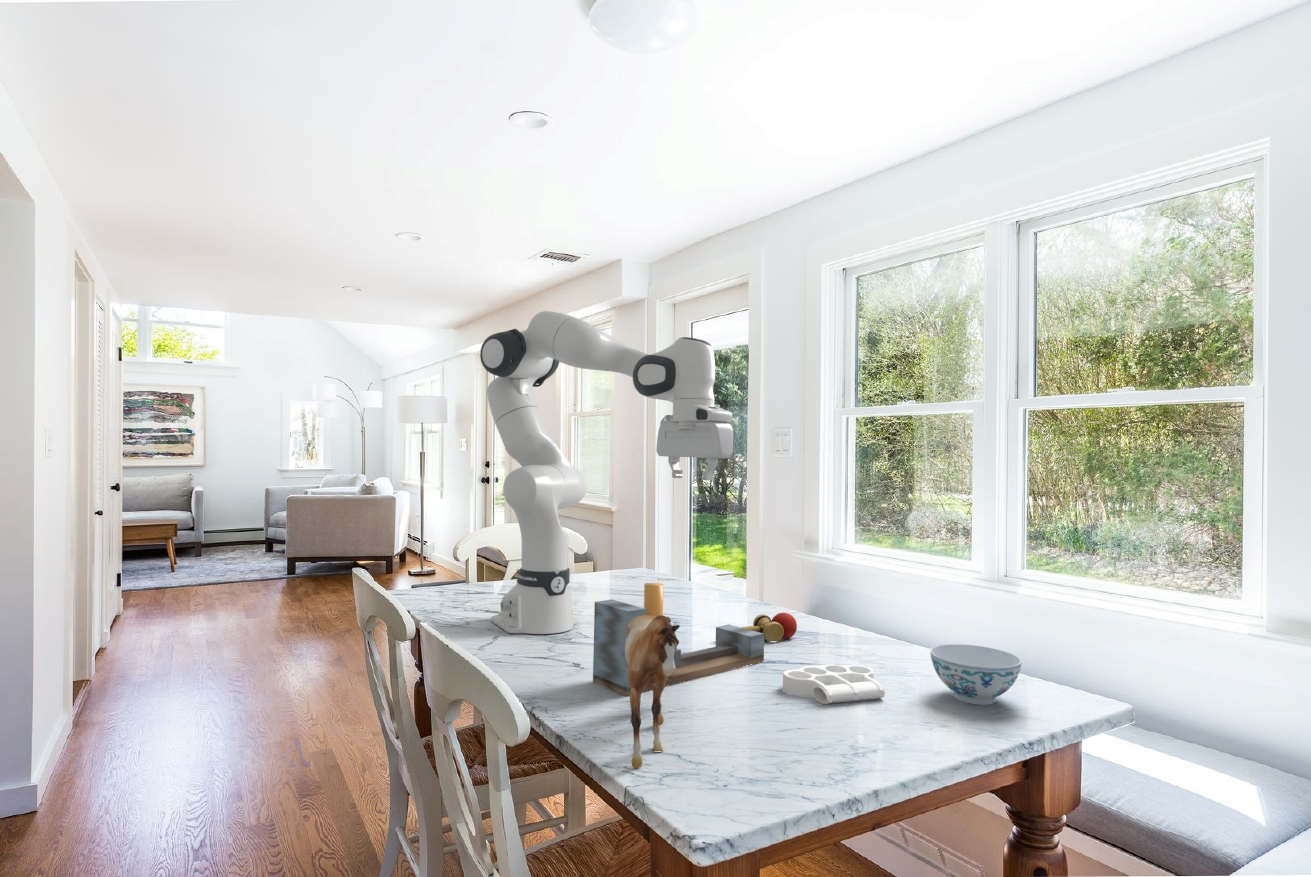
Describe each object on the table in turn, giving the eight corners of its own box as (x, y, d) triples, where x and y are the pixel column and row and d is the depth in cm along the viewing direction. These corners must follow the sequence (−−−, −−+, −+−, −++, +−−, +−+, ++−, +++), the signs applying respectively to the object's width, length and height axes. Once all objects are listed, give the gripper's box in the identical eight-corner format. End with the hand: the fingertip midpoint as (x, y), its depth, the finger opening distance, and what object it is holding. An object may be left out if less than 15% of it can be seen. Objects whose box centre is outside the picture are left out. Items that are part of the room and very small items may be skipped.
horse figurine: (676, 783, 97) (680, 623, 97) (616, 781, 97) (620, 621, 97) (673, 702, 128) (675, 581, 128) (627, 701, 128) (630, 580, 128)
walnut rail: (590, 682, 137) (592, 602, 138) (728, 651, 161) (729, 582, 161) (627, 698, 129) (629, 612, 129) (767, 662, 153) (768, 590, 153)
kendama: (735, 653, 165) (806, 637, 171) (730, 624, 166) (800, 609, 172) (721, 651, 172) (789, 635, 178) (716, 623, 173) (784, 608, 179)
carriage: (624, 660, 141) (626, 583, 141) (652, 654, 146) (654, 579, 146) (651, 670, 135) (653, 589, 135) (680, 663, 140) (682, 585, 140)
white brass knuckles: (810, 710, 126) (769, 684, 140) (900, 701, 132) (852, 677, 146) (811, 690, 126) (770, 666, 140) (900, 682, 132) (852, 659, 146)
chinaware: (974, 682, 143) (975, 641, 143) (1041, 708, 129) (1041, 663, 129) (911, 689, 137) (912, 647, 137) (973, 717, 123) (974, 670, 123)
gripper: (650, 414, 164) (649, 477, 164) (716, 411, 149) (715, 481, 148) (671, 415, 168) (670, 477, 168) (738, 413, 153) (737, 481, 153)
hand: (692, 479), depth 158 cm, fingers open, 8 cm apart
